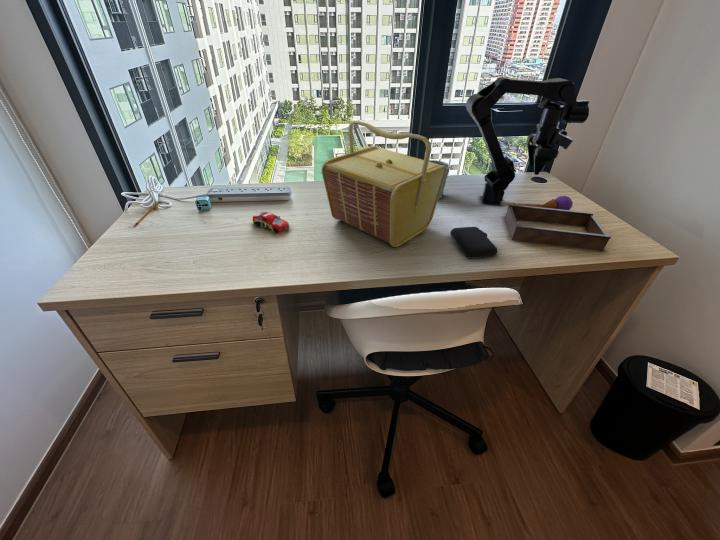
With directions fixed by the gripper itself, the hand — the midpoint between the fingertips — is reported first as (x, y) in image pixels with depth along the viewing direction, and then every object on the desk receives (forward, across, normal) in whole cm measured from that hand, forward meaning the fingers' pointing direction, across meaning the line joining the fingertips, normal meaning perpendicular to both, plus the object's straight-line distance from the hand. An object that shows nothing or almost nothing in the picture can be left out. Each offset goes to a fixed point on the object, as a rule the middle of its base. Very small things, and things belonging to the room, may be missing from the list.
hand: (533, 170), depth 117 cm
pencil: (+12, -42, +127) cm, 135 cm away
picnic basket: (+12, -31, +49) cm, 59 cm away
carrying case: (+12, -37, +20) cm, 44 cm away
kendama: (+12, -8, -4) cm, 15 cm away
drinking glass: (+12, -3, +34) cm, 36 cm away
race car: (+12, -41, +83) cm, 93 cm away
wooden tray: (+12, -23, -4) cm, 26 cm away
